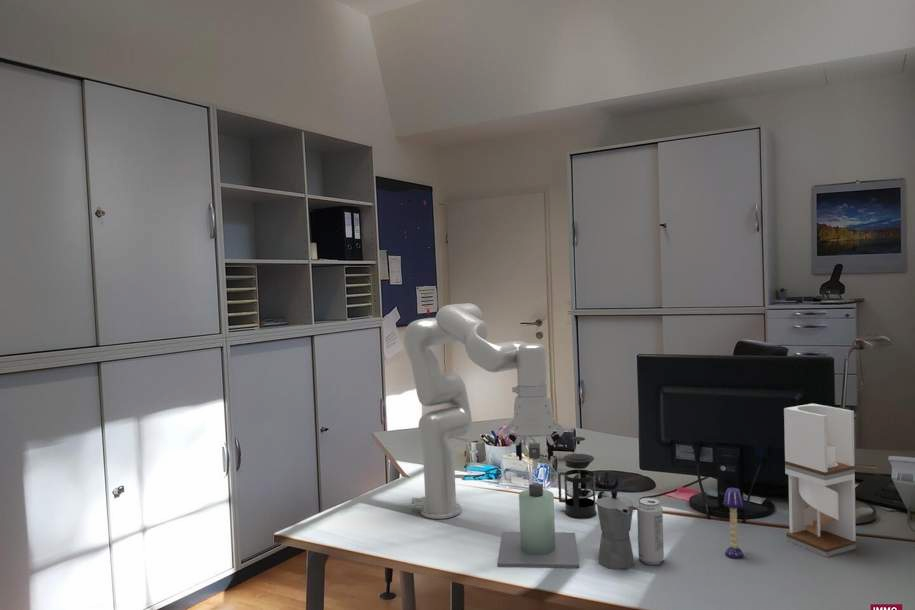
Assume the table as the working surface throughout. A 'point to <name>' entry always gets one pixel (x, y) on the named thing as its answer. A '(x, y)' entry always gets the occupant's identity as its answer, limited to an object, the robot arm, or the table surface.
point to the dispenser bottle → (537, 535)
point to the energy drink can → (650, 531)
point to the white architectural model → (820, 478)
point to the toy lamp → (733, 520)
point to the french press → (578, 486)
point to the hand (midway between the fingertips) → (534, 458)
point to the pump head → (534, 453)
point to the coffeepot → (615, 531)
